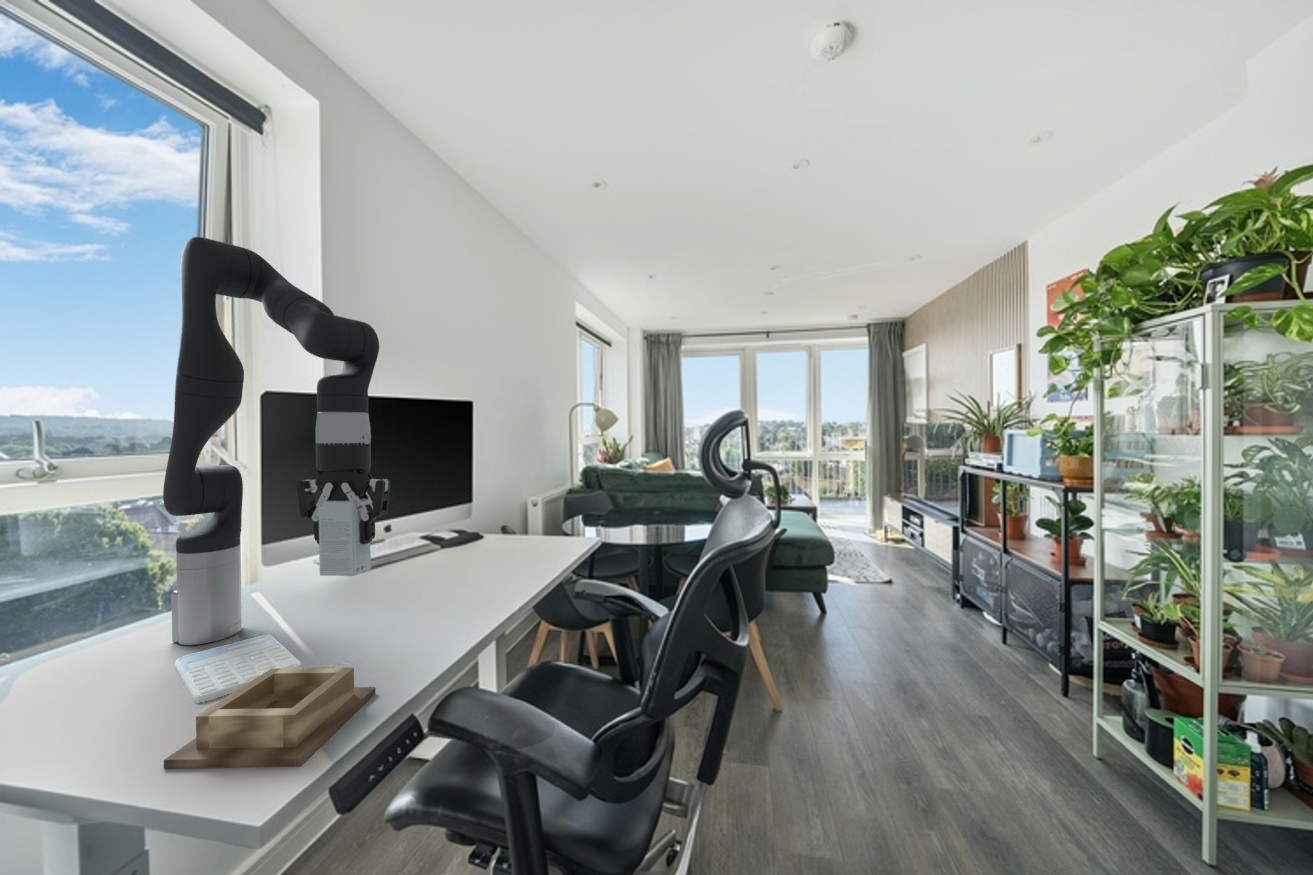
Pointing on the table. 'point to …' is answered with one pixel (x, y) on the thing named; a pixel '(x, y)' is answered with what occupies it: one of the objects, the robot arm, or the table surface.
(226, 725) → the wooden box stand
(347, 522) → the skincare box
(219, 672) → the calculator
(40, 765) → the table surface
